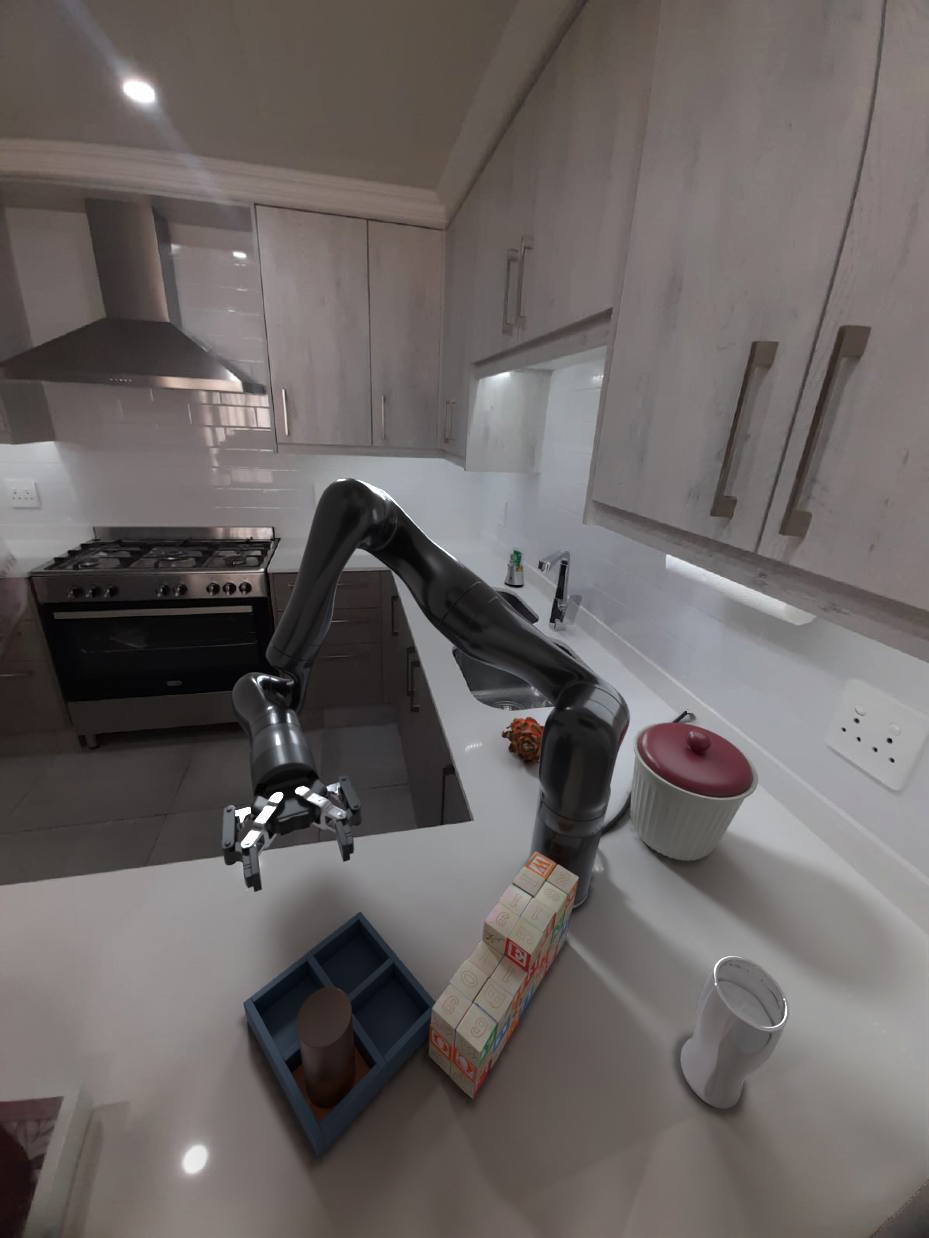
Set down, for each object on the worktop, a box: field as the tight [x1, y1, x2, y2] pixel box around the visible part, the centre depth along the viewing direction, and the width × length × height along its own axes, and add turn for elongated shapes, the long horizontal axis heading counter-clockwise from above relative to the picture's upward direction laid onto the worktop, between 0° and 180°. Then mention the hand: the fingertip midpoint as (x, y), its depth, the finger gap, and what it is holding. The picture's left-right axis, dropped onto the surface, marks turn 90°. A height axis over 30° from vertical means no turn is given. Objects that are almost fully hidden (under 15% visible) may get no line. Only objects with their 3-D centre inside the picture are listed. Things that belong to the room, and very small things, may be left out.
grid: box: [242, 911, 436, 1159], centre depth 55 cm, size 15×15×4 cm
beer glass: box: [679, 955, 790, 1110], centre depth 50 cm, size 7×7×15 cm
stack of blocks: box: [428, 851, 579, 1100], centre depth 57 cm, size 21×6×12 cm, turn 143°
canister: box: [630, 721, 759, 862], centre depth 79 cm, size 18×18×21 cm
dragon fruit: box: [501, 716, 544, 763], centre depth 99 cm, size 8×8×12 cm
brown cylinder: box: [297, 987, 356, 1108], centre depth 48 cm, size 5×5×11 cm
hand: (303, 869), depth 48 cm, fingers open, 8 cm apart
